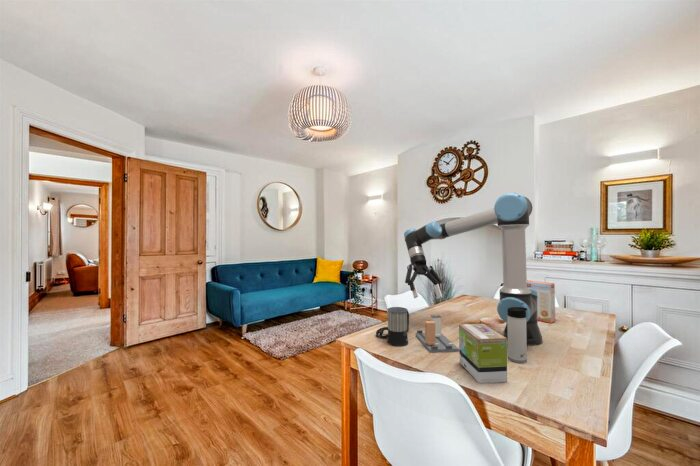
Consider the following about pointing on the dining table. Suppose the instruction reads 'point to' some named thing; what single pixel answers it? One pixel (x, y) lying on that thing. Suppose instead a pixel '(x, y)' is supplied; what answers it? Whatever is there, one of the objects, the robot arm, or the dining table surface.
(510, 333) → the travel mug
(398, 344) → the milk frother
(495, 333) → the tea box
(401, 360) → the dining table surface
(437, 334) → the ivory fader tab
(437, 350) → the fader console
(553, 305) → the cracker box
